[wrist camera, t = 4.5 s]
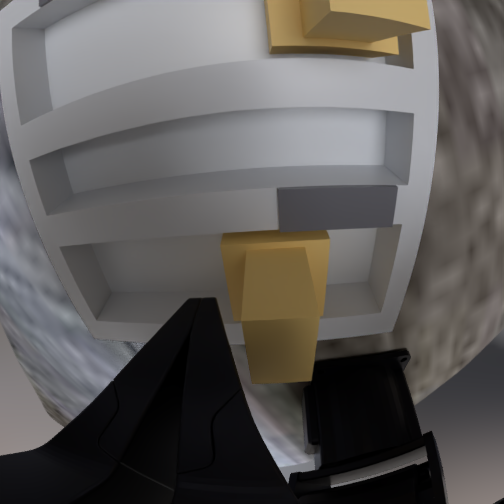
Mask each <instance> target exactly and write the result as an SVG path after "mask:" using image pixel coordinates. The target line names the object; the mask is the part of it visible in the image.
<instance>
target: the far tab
mask: <svg viewBox="0 0 504 504" xmlns="http://www.w3.org/2000/svg"><path fill="white" fill-rule="evenodd" d="M220 248H221V254H222V259H223V265H224V271H225V276H226V282H227V287H228V293H229V298H230V304H231V309H232V314H233V319H234V321H241V324H242V330H243V336H244V341H245V347H246V353H247V359H248V364H249V370H250V376H251V381H252V384H269V383H289V382H303V381H311V380H312V373H313V367H314V360H315V352H316V345H317V337H318V329H319V320H320V316H323V312H324V303H325V294H326V284H327V274H328V262H329V249H330V237H329V235H328V232H327V230H317V231H298V232H280V230H262V231H246V232H231V233H223V235H222V239H221V244H220Z"/></svg>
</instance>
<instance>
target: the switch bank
mask: <svg viewBox="0 0 504 504" xmlns="http://www.w3.org/2000/svg"><path fill="white" fill-rule="evenodd" d="M427 5H428V12H429V19H430V27H431V30H425V31H420V32H415V33H410V34H405V35H401V36H397V38H398V50H399V55H391V56H383V57H376V58H367V57H358V56H347V55H333V54H269V45H268V35H267V25H266V15H265V6H264V0H13V1H12V2H11V3H9V4H8V5H7V6H6V7H5V8H3V9H2V10H1V11H0V90H1V98H2V105H3V112H4V118H5V123H6V129H7V133H8V138H9V143H10V147H11V151H12V155H13V159H14V163H15V167H16V170H17V174H18V177H19V180H20V184H21V187H22V190H23V193H24V196H25V199H26V202H27V205H28V207H29V210H30V213H31V216H32V218H33V221H34V223H35V226H36V228H37V231H38V233H39V236H40V238H41V240H42V243H43V245H44V247H45V250H46V252H47V254H48V256H49V258H50V261H51V263H52V265H53V267H54V269H55V271H56V273H57V275H58V277H59V279H60V281H61V283H62V285H63V287H64V288H65V290H66V292H67V294H68V296H69V298H70V299H71V301H72V303H73V305H74V306H75V308H76V310H77V312H78V313H79V315H80V317H81V318H82V320H83V322H84V323H85V325H86V327H87V328H88V330H89V331H90V333H91V334H92V336H93V338H94V339H104V340H115V341H127V342H141V343H147V342H148V341H149V340H150V339H151V338H152V337H153V336H154V335H155V333H156V332H157V331H158V330H159V329H160V328H161V327H162V326H163V325H164V324H165V323H166V322H167V321H168V319H169V318H170V317H171V316H172V315H173V314H174V313H175V312H176V311H177V310H178V309H179V308H180V307H181V306H182V305H183V303H184V302H185V301H186V300H187V299H189V298H199V297H201V298H204V297H216V298H217V301H218V305H219V309H220V313H221V316H222V320H223V323H224V327H225V331H226V334H227V338H228V341H229V345H238V344H245V341H244V336H243V330H242V324H241V321H234V319H233V314H232V309H231V304H230V298H229V293H228V287H227V282H226V276H225V271H224V265H223V259H222V254H221V248H220V244H221V239H222V235H223V233H231V232H246V231H262V230H280V232H298V231H317V230H327V232H328V235H329V237H330V249H329V262H328V274H327V284H326V294H325V303H324V312H323V316H320V320H319V329H318V337H317V340H327V339H337V338H347V337H355V336H364V335H371V334H379V333H386V332H392V331H393V328H394V325H395V323H396V320H397V317H398V314H399V311H400V309H401V306H402V303H403V300H404V297H405V294H406V290H407V287H408V284H409V281H410V277H411V274H412V270H413V267H414V263H415V260H416V256H417V252H418V248H419V244H420V240H421V235H422V231H423V227H424V222H425V217H426V212H427V207H428V201H429V196H430V190H431V183H432V176H433V169H434V161H435V152H436V142H437V129H438V109H439V68H438V50H437V38H436V28H435V20H434V13H433V6H432V0H427Z"/></svg>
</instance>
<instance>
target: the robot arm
mask: <svg viewBox="0 0 504 504" xmlns="http://www.w3.org/2000/svg"><path fill="white" fill-rule="evenodd" d="M410 358H411V356H410V354H409V351H407V350H404V351H398V352H393V353H387V354H381V355H374V356H368V357H361V358H353V359H345V360H336V361H327V362H319V363H316V364H314V367H313V373H312V380H311V381H310V384H309V385H307V386H306V387H305V388H304V389H303V397H302V416H303V430H304V445H305V452H306V453H307V454H314V460H315V470H313V471H308V472H295V473H291V474H290V478H289V483H287V482H286V480H285V478H284V476H283V475H282V473H281V471H280V470H279V468H278V466H277V464H276V462H275V461H274V459H273V457H272V455H271V454H270V452H269V450H268V448H267V446H266V444H265V443H264V441H263V439H262V437H261V435H260V433H259V431H258V429H257V427H256V424H255V422H254V420H253V417H252V415H251V412H250V409H249V407H248V404H247V401H246V398H245V394H244V391H243V388H242V385H241V382H240V379H239V375H238V372H237V369H236V365H235V362H234V359H233V355H232V352H231V348H230V345H229V341H228V338H227V334H226V331H225V327H224V323H223V320H222V316H221V313H220V309H219V305H218V301H217V298H216V297H204V298H201V297H199V298H189V299H187V300H186V301H185V302H184V303H183V305H182V306H181V307H180V308H179V309H178V310H177V311H176V312H175V313H174V314H173V315H172V316H171V317H170V318H169V319H168V321H167V322H166V323H165V324H164V325H163V326H162V327H161V328H160V329H159V330H158V331H157V332H156V333H155V335H154V336H153V337H152V338H151V339H150V340H149V341H148V342H147V343H146V344H145V345H144V346H143V348H142V349H141V350H140V351H139V352H138V353H137V354H136V355H135V356H134V357H133V358H132V359H131V361H130V362H129V363H128V364H127V365H126V366H125V367H124V368H123V369H122V370H121V371H120V373H119V374H118V375H117V376H116V377H115V378H114V381H111V382H110V383H109V385H108V386H107V387H106V388H105V389H104V390H103V391H102V392H101V393H100V394H99V395H98V396H97V397H96V398H95V399H94V401H93V402H92V403H91V404H90V405H88V406H87V407H86V408H85V409H84V410H83V411H82V412H81V413H80V414H79V415H78V416H77V417H76V418H74V419H73V420H72V421H71V422H70V423H69V424H68V425H67V426H66V427H64V428H63V429H62V430H61V431H60V432H59V433H58V434H57V435H55V436H54V437H53V438H52V439H51V440H50V441H48V442H47V443H46V444H44V445H42V446H40V447H39V448H36V449H33V450H29V451H25V452H19V453H13V454H7V455H1V456H0V504H448V497H447V490H446V484H445V478H444V473H443V467H442V463H441V458H440V454H439V450H438V446H437V443H436V440H435V437H434V435H433V432H432V431H430V432H427V433H425V434H423V436H422V433H421V429H420V426H419V422H418V418H417V414H416V411H415V408H414V404H413V400H412V397H411V394H410V391H409V387H408V384H407V381H406V378H405V375H404V372H403V371H404V369H405V367H406V366H407V364H408V362H409V360H410ZM425 456H427V457H428V461H427V462H424V463H422V464H419V465H417V464H413V465H410V466H407V467H405V468H402V469H399V470H396V471H393V472H390V473H387V474H384V475H381V476H377V477H374V478H370V479H367V480H363V481H359V482H355V483H352V484H347V485H343V486H338V487H334V488H331V486H330V485H334V484H339V483H343V482H348V481H352V480H356V479H360V478H364V477H367V476H371V475H374V474H378V473H381V472H384V471H387V470H390V469H393V468H396V467H399V466H402V465H404V464H407V463H410V462H412V461H415V460H417V459H420V458H422V457H425ZM494 504H504V498H502V499H501V500H499V501H497V502H495V503H494Z"/></svg>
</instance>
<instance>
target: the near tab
mask: <svg viewBox="0 0 504 504" xmlns="http://www.w3.org/2000/svg"><path fill="white" fill-rule="evenodd" d="M264 6H265V15H266V25H267V35H268V45H269V54H333V55H347V56H358V57H367V58H376V57H383V56H391V55H399V50H398V38H397V36H401V35H405V34H410V33H415V32H420V31H425V30H431V27H430V19H429V12H428V5H427V0H264Z"/></svg>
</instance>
